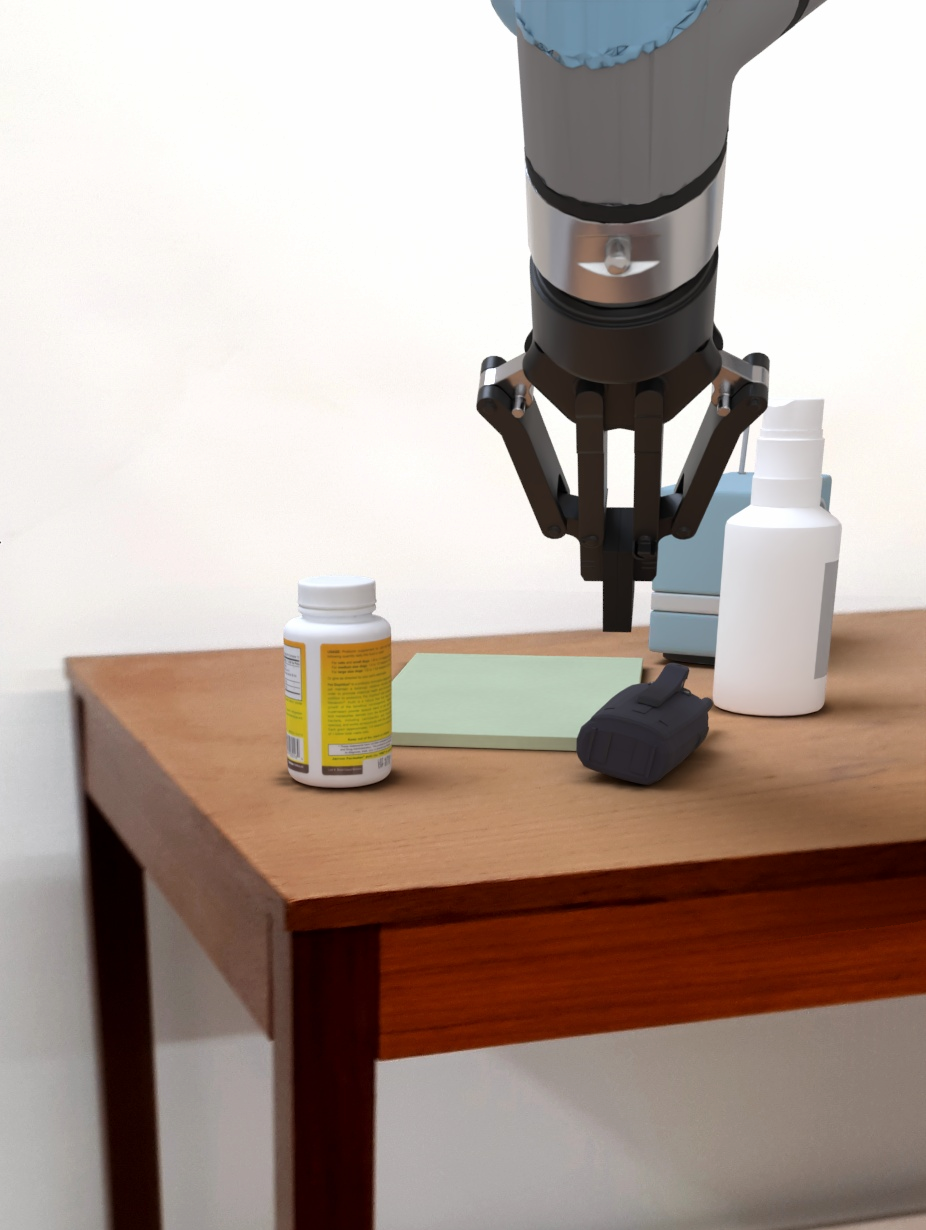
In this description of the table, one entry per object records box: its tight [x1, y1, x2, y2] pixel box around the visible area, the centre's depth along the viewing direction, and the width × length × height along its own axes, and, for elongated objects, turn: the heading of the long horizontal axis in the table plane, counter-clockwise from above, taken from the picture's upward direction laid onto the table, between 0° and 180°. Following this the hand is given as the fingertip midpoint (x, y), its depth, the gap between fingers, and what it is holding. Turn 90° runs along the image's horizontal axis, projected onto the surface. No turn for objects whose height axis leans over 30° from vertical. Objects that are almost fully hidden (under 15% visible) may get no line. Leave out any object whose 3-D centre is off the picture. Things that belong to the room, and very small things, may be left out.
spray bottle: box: [712, 397, 843, 717], centre depth 101 cm, size 7×7×18 cm
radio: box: [648, 425, 833, 666], centre depth 119 cm, size 16×9×20 cm, turn 150°
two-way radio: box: [575, 662, 714, 786], centre depth 91 cm, size 6×4×15 cm
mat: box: [392, 652, 644, 752], centre depth 106 cm, size 16×26×1 cm, turn 169°
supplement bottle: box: [283, 574, 393, 789], centre depth 87 cm, size 6×6×10 cm
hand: (618, 610), depth 88 cm, fingers closed
